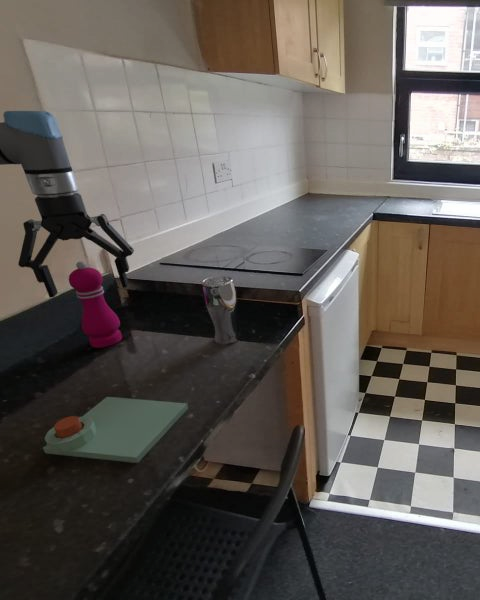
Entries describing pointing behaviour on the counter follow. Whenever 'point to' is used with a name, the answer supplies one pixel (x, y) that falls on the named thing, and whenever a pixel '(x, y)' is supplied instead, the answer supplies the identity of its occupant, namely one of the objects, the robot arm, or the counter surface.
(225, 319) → the beer glass
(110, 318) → the pepper mill
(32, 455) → the counter surface
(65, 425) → the power button
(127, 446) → the scale
